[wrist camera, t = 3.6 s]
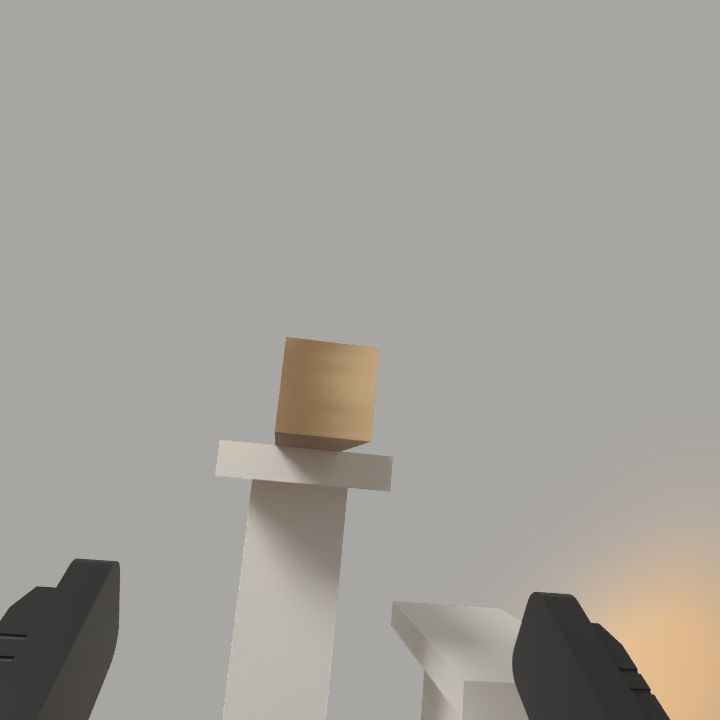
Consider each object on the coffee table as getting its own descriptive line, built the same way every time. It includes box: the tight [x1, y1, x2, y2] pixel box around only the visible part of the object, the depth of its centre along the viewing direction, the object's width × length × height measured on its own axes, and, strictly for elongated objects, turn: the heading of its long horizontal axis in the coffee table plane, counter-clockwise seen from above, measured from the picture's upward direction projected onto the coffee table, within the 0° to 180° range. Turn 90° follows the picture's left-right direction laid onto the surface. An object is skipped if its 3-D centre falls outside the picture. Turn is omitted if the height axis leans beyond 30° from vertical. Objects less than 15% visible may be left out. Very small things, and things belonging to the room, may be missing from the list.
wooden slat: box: [275, 337, 379, 451], centre depth 30 cm, size 3×25×3 cm, turn 8°
